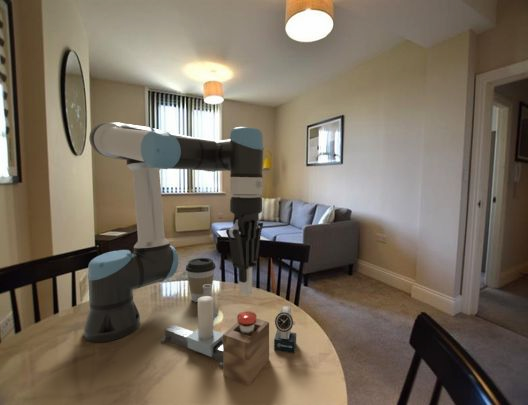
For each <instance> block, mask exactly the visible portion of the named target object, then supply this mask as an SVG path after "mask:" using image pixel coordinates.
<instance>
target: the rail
mask: <svg viewBox="0 0 528 405" xmlns="http://www.w3.org/2000/svg"><path fill="white" fill-rule="evenodd" d="M193 332H194V331H193V330H190V329H187V328H184V327H181V326H178V325H176V324H172V325H170V326H168V327H167V328H165V329H164V337H162V338H161V339H160V342H161V343H162V344H165V343H167V342H171V343H173V344H176V345H178V346H181V347H183V348H186V349H188V350H191V351H194V352H195V353H199V354H200V355H203V356H206V357H208V358H210V359H213V360H215V361H218V362H219V364H218V365H219V367H220V368H223V342H221V341H220V342H219V343H218V344H216V345H215V346H214V347H213V356H212V357H210V356H208V355H205V354H203V353H200V352H198V351H195V350H193V349H190V348H188V341H187V336H189V335H190V334H192V333H193Z"/></svg>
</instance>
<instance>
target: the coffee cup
mask: <svg viewBox="0 0 528 405" xmlns="http://www.w3.org/2000/svg"><path fill="white" fill-rule="evenodd" d="M215 269H216V263H215V262H214V261H213V259H211V258H209V257H198V258H194V259H191V260H189V261H188V263H187V265H186V266H185V271H186V272H187V277H188V278H187V279H188V284H189V285H188V286H189V292H190V298H191V301H192V300H193V301H194V303H196V302H198V298H200V297H203V293H204V289H203V285H205V284H210V285H212V286H213V283H214V274H215ZM211 292H212V293H213V287H212V288H211ZM193 301H192V302H193Z"/></svg>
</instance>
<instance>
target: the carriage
mask: <svg viewBox="0 0 528 405" xmlns="http://www.w3.org/2000/svg"><path fill="white" fill-rule="evenodd" d="M213 299H214V297H213V298H212V297H210V296H203V297H200V298H198V303H197V314H198V316H197V329H196V330H194V331H193V333H192V334H190V335H189V336H187V341H188V348H190V349H189V350H191V349H193V350H195V351H194V352H196V351H198V352H200V353H199V354H201V353H203V354H205V355H204V356H206V355H208V356H210V357H209V358H211V357H212V356H213V347H214V346H215V345H216V344H218V343H219V342H220V341H221V342H223V334H224V333H225V332H224V333H223V332H221V331H217V330H215V329H214V317H213ZM188 348H187V349H188ZM193 350H192V351H193ZM198 352H197V353H198ZM203 354H202V355H203ZM208 356H207V357H208Z"/></svg>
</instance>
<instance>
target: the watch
mask: <svg viewBox="0 0 528 405" xmlns="http://www.w3.org/2000/svg"><path fill="white" fill-rule="evenodd" d="M274 325H275V328H276V333H275V336H274V338H273V350H274V351H277V352H284V353H290V354H295V353H296V347H297V332H291V331H292V329H293V327H294V326H295V325H296V322H295V321H294V318H293V315H292V309H291V307H290V306H284V305H283V306H281V309H280V310H279V311H278V313H277V315H276V317H275V318H274Z"/></svg>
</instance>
